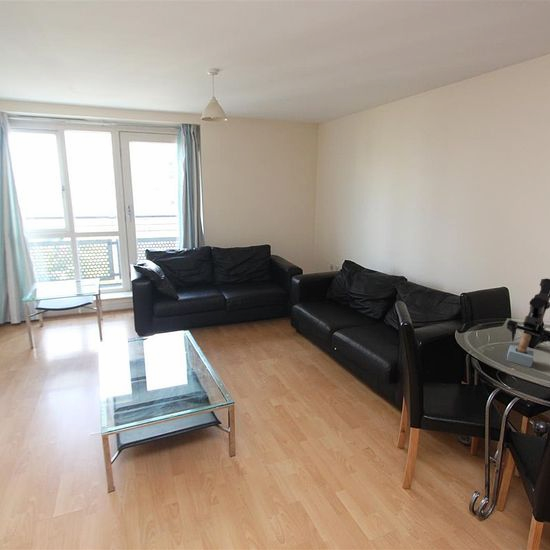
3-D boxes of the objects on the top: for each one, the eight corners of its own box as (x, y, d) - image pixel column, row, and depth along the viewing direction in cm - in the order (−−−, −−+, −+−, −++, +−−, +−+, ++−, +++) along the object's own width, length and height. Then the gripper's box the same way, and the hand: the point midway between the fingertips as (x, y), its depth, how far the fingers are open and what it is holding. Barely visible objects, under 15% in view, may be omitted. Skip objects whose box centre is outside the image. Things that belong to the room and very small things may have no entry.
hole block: (507, 353, 192) (510, 344, 191) (530, 360, 187) (533, 351, 185) (506, 360, 184) (509, 351, 182) (530, 367, 179) (533, 358, 177)
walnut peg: (519, 356, 187) (526, 333, 183) (525, 360, 184) (533, 336, 180) (513, 356, 186) (520, 332, 183) (519, 360, 183) (526, 336, 179)
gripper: (512, 304, 188) (501, 329, 183) (557, 316, 175) (546, 343, 170) (512, 316, 195) (501, 340, 190) (555, 328, 183) (545, 354, 178)
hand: (522, 344), depth 182 cm, fingers open, 9 cm apart
